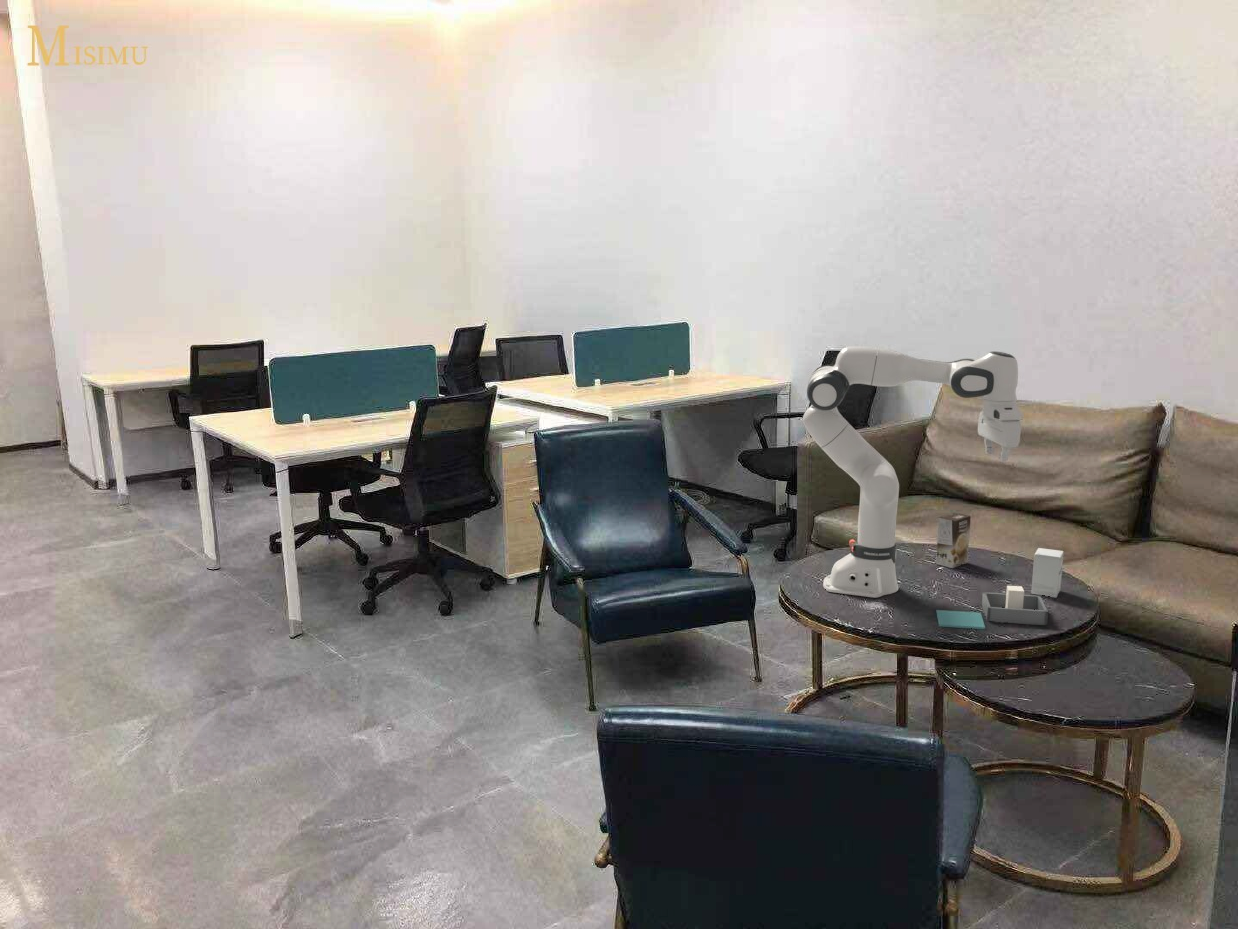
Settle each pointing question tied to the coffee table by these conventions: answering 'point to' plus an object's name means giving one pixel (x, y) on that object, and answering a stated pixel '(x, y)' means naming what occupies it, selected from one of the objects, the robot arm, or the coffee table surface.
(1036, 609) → the crate
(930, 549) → the coffee table surface
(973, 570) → the coffee table surface
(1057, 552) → the supplement box
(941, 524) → the coffee box
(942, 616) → the mat
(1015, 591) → the block
